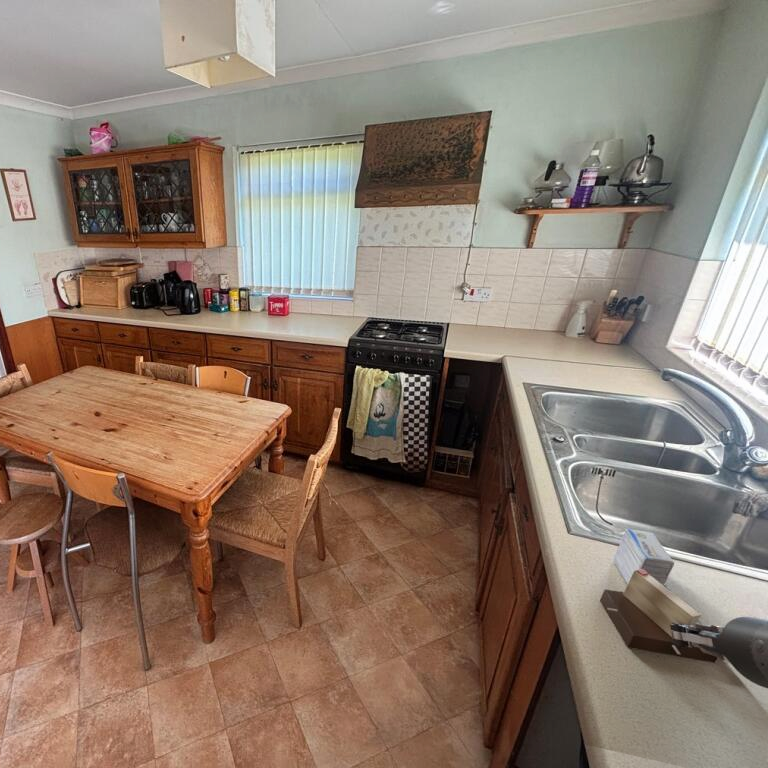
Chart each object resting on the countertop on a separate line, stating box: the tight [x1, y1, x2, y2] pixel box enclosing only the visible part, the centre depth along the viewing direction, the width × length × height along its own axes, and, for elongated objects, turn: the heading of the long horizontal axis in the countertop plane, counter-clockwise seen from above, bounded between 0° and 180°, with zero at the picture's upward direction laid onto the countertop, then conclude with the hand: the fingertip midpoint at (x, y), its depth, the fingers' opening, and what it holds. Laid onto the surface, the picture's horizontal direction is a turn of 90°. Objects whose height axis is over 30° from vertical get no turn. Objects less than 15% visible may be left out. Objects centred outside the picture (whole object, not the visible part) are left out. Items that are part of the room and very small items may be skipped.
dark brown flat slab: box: [599, 589, 719, 664], centre depth 71 cm, size 14×13×3 cm
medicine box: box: [612, 528, 675, 587], centre depth 79 cm, size 8×4×9 cm, turn 161°
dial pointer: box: [623, 569, 702, 637], centre depth 69 cm, size 9×2×6 cm, turn 10°
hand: (678, 631), depth 62 cm, fingers closed
